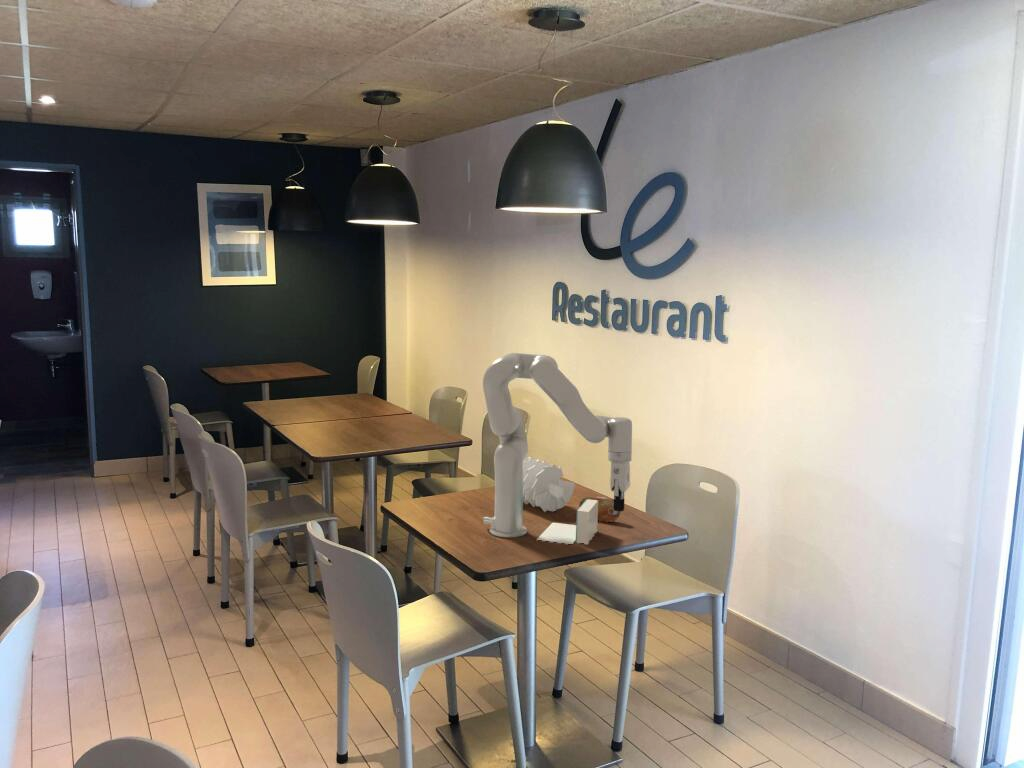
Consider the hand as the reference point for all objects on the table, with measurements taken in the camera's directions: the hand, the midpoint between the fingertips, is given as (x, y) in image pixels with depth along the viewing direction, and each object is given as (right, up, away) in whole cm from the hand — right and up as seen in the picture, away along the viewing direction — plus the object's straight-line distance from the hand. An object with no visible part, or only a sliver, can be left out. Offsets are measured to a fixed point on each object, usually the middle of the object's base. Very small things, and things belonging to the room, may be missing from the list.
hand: (618, 510), depth 265 cm
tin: (-4, -7, +24) cm, 25 cm away
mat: (-18, -9, +7) cm, 22 cm away
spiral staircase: (-26, -5, +39) cm, 47 cm away
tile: (-10, -10, +5) cm, 15 cm away
